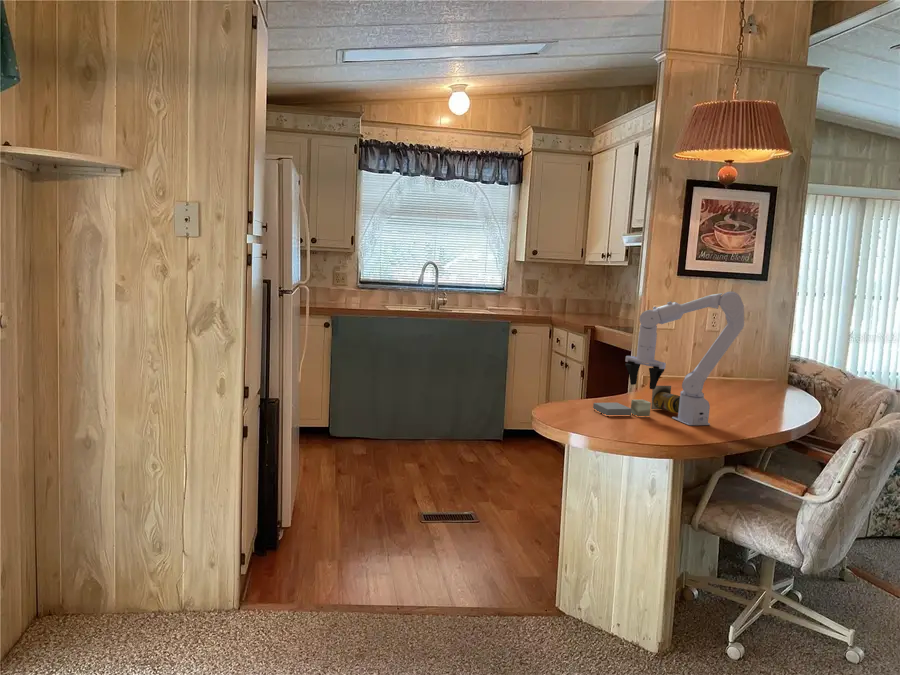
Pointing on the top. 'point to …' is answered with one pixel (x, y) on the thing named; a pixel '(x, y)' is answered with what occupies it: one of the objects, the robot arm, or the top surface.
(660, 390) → the condiment
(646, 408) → the sage block
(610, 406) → the plate
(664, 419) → the top surface
